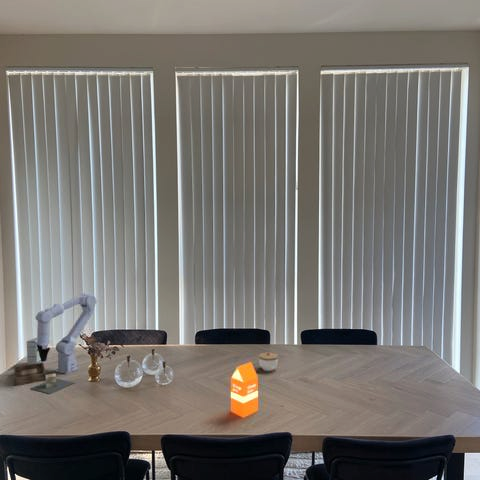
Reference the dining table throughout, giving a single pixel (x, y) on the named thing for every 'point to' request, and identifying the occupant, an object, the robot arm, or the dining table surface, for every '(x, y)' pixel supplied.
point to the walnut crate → (29, 374)
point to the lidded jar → (268, 361)
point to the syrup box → (32, 352)
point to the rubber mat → (59, 385)
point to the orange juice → (244, 390)
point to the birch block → (50, 380)
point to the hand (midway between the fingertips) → (42, 359)
